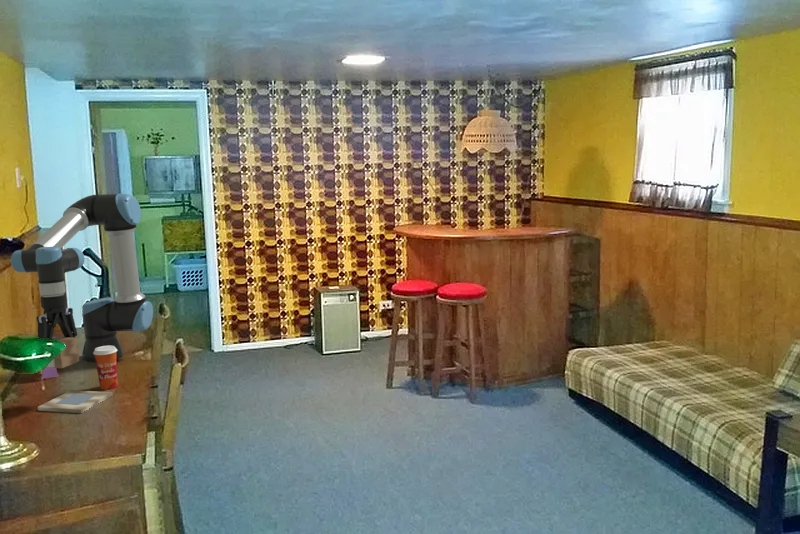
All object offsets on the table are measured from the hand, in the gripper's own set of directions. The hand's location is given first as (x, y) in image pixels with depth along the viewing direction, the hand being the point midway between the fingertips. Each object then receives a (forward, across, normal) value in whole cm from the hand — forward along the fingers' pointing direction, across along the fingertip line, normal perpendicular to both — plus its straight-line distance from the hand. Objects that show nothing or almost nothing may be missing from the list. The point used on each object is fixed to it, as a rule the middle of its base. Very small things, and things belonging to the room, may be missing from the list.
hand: (60, 362), depth 238 cm
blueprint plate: (+13, +1, +5) cm, 14 cm away
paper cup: (+13, -15, +6) cm, 21 cm away
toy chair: (+13, -22, -25) cm, 36 cm away
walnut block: (0, 0, 0) cm, 0 cm away
